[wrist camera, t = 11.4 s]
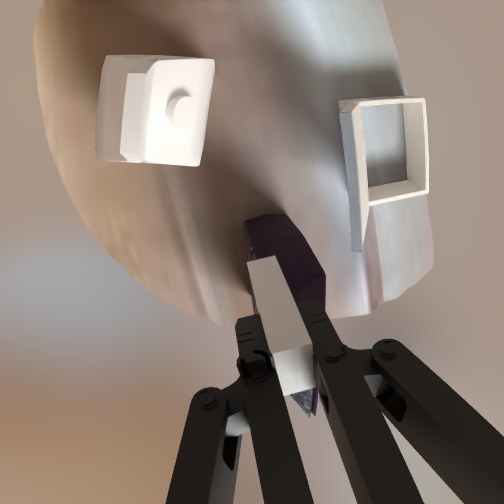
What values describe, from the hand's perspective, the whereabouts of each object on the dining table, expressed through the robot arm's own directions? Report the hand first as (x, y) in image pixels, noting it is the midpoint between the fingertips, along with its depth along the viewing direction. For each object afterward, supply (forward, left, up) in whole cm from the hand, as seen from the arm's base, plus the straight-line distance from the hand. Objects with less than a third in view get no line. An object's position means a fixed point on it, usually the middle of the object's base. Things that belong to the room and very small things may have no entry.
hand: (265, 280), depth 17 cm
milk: (-6, -10, -35) cm, 37 cm away
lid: (-6, +16, -22) cm, 28 cm away
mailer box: (-10, +24, -34) cm, 43 cm away
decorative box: (+15, +12, -35) cm, 40 cm away
